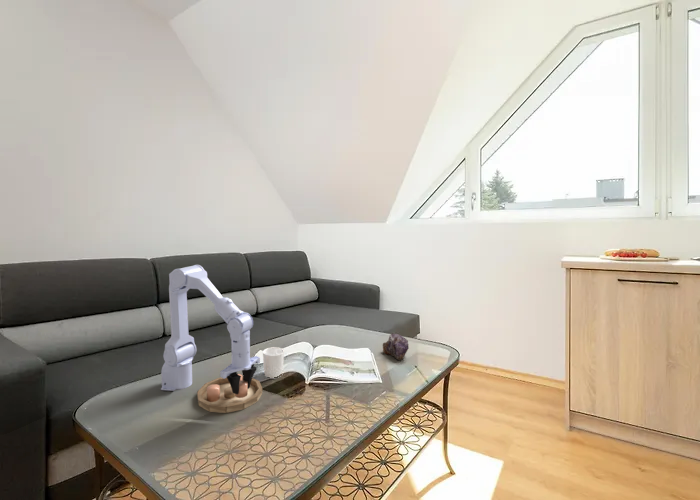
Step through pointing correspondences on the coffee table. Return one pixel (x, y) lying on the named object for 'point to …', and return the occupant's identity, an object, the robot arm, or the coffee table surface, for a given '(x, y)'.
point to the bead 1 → (213, 393)
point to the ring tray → (229, 396)
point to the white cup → (273, 361)
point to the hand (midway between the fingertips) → (241, 390)
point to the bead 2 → (242, 389)
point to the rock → (396, 346)
